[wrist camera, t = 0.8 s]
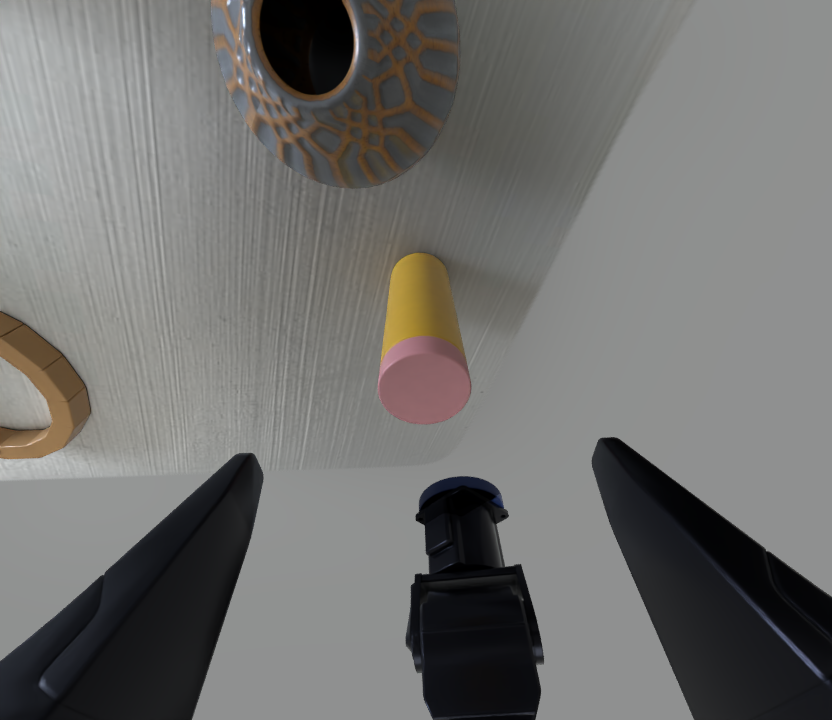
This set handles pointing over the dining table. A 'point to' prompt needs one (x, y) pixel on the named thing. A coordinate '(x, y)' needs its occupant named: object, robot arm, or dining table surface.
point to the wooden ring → (42, 392)
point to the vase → (341, 81)
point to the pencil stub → (422, 345)
